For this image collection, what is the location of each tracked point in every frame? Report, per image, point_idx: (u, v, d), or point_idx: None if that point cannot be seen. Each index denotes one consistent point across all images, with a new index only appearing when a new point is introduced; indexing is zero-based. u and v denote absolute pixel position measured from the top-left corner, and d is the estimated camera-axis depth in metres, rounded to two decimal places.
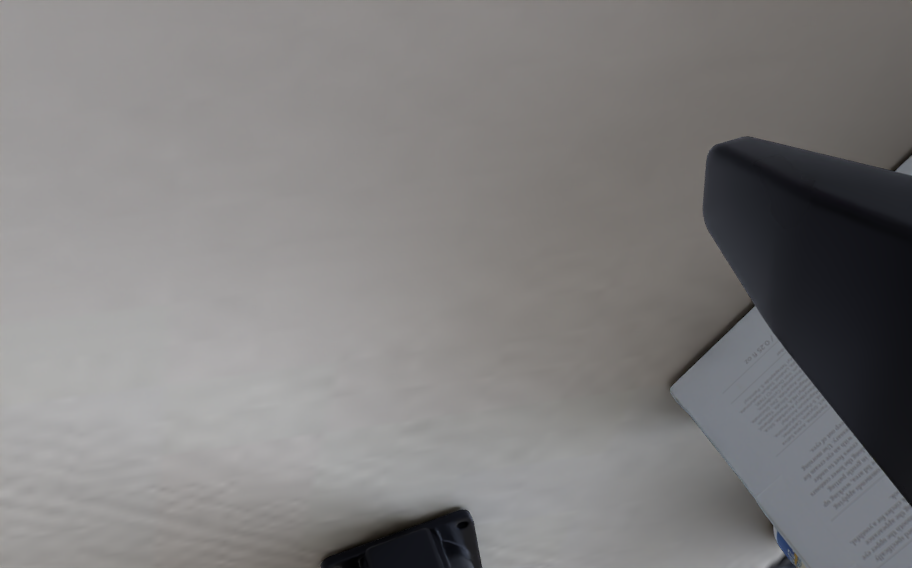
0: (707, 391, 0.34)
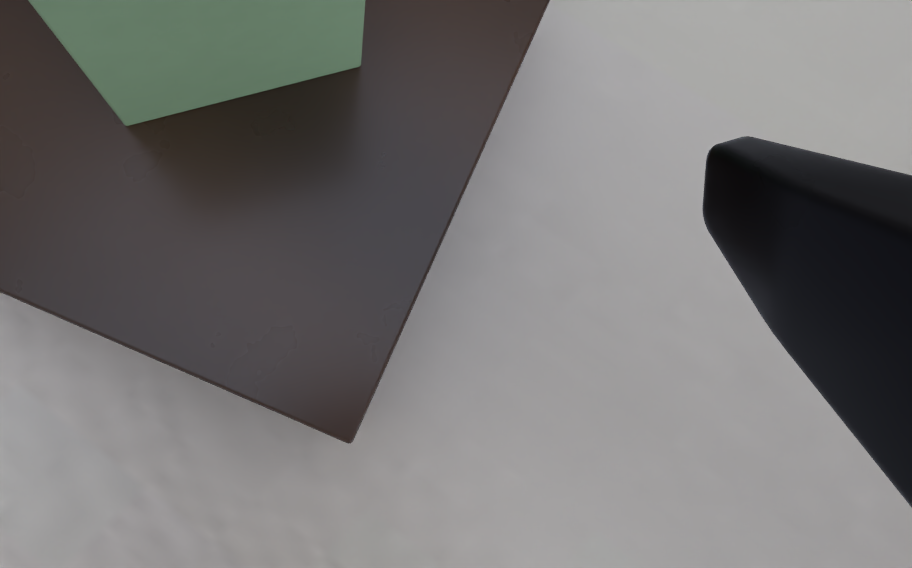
0: None
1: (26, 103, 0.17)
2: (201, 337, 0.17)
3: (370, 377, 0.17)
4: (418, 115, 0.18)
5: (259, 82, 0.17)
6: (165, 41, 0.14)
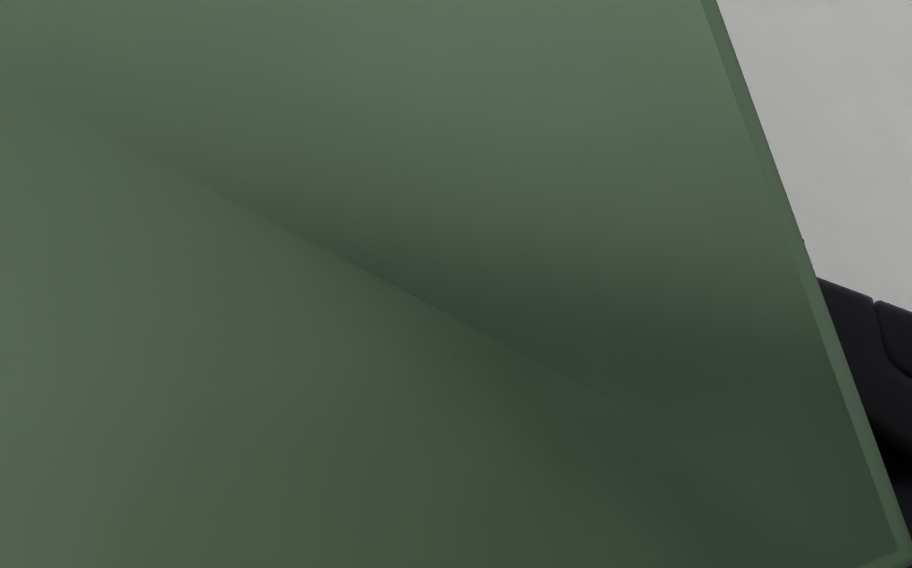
0: None
1: None
2: None
3: None
4: None
5: None
6: None
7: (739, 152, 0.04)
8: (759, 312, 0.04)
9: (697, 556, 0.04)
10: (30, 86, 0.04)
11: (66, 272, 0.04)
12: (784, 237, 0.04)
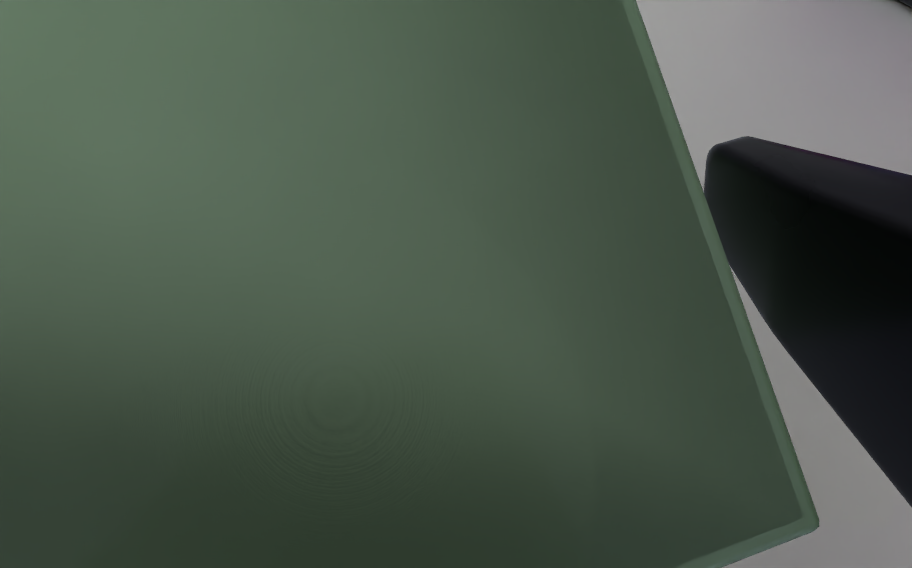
0: None
1: None
2: None
3: None
4: None
5: None
6: None
7: (673, 186, 0.05)
8: (688, 319, 0.05)
9: (633, 521, 0.05)
10: (84, 135, 0.05)
11: (115, 287, 0.05)
12: (710, 256, 0.05)
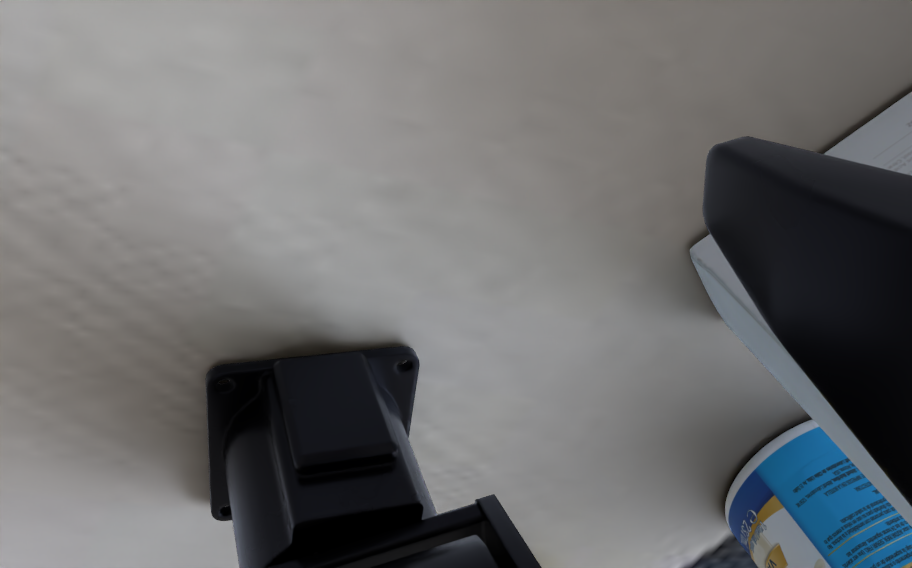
0: None
1: None
2: None
3: None
4: None
5: None
6: None
7: None
8: None
9: None
10: None
11: None
12: None
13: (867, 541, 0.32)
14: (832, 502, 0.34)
